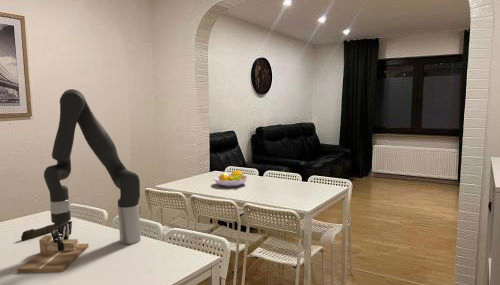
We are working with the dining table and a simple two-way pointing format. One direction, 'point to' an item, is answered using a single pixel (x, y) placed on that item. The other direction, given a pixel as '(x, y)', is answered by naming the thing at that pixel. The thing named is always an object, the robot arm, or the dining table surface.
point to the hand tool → (36, 232)
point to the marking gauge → (49, 244)
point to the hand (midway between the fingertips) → (63, 248)
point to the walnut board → (52, 260)
